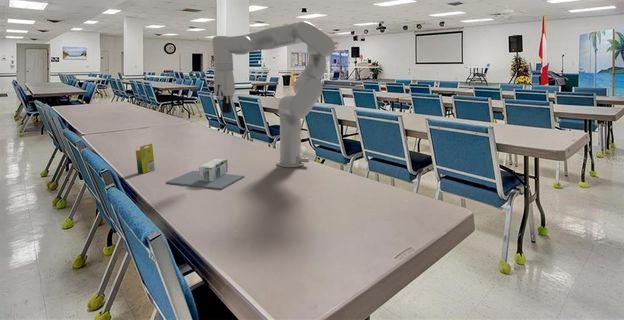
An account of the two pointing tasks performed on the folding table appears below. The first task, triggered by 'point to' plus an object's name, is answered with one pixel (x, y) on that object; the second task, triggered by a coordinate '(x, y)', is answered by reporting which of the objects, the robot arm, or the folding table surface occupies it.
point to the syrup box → (213, 169)
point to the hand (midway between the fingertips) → (227, 112)
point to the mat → (194, 181)
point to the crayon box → (145, 159)
